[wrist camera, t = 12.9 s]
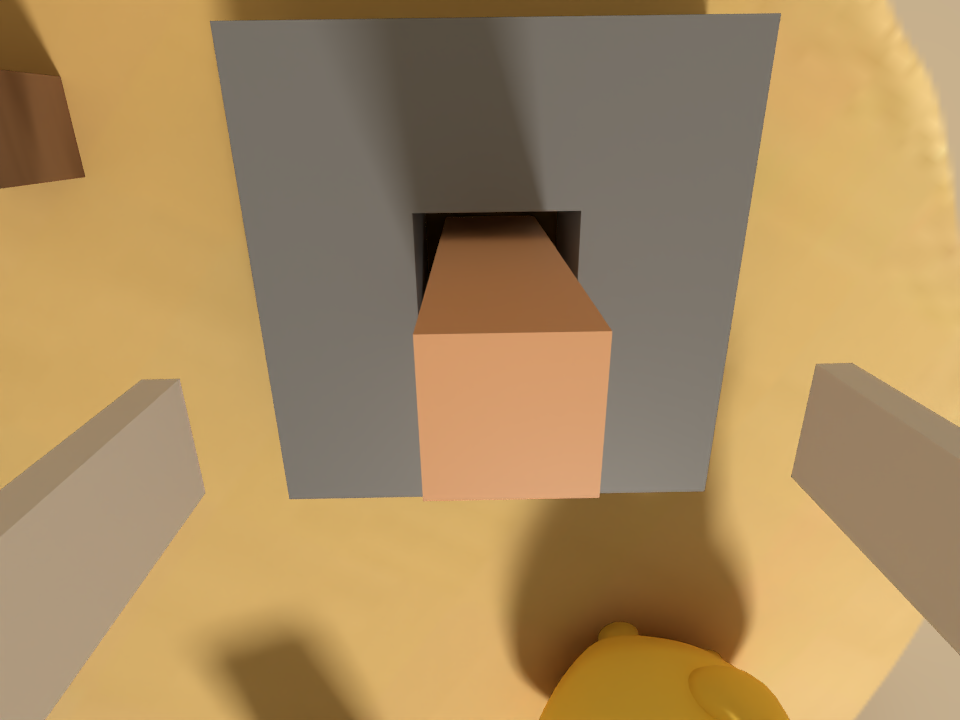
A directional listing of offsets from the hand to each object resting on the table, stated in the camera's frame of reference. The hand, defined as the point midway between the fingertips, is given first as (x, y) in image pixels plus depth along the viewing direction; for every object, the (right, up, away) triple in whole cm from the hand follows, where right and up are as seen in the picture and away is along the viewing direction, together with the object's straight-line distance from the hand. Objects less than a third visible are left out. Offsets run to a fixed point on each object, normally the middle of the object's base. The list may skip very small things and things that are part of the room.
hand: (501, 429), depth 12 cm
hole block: (0, +6, +15) cm, 16 cm away
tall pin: (0, +6, +15) cm, 16 cm away
